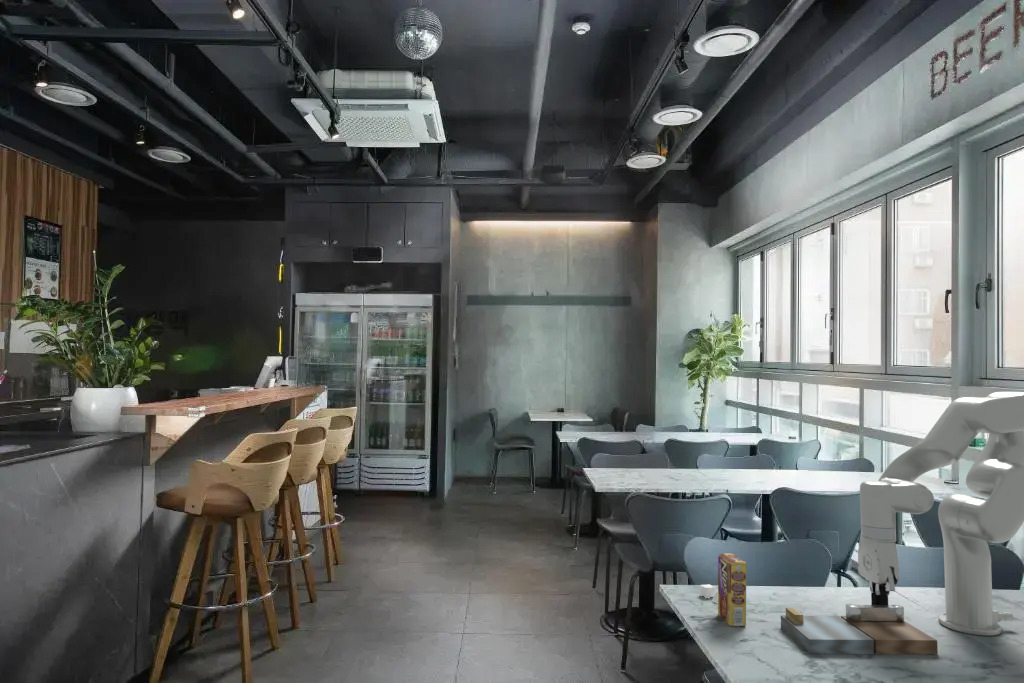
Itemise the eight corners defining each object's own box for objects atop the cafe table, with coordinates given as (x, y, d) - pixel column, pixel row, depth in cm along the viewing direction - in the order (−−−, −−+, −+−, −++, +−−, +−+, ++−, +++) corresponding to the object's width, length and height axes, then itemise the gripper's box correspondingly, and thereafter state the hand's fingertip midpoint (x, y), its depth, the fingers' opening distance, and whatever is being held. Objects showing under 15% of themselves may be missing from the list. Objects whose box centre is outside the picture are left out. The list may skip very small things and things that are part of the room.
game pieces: (699, 596, 183) (699, 584, 183) (710, 595, 184) (709, 583, 184) (725, 610, 171) (724, 597, 171) (736, 609, 172) (735, 596, 172)
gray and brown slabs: (896, 629, 159) (896, 607, 159) (937, 654, 144) (937, 631, 144) (780, 628, 158) (780, 606, 159) (809, 653, 143) (809, 629, 144)
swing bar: (850, 621, 154) (850, 608, 154) (843, 616, 157) (843, 603, 157) (907, 621, 154) (906, 608, 154) (899, 617, 157) (898, 604, 158)
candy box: (747, 627, 159) (747, 562, 160) (730, 627, 159) (729, 562, 160) (734, 614, 168) (733, 553, 169) (717, 614, 168) (717, 553, 169)
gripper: (846, 526, 168) (848, 600, 166) (880, 540, 153) (882, 621, 152) (875, 526, 168) (877, 600, 167) (912, 540, 153) (914, 621, 152)
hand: (879, 610), depth 159 cm, fingers closed
